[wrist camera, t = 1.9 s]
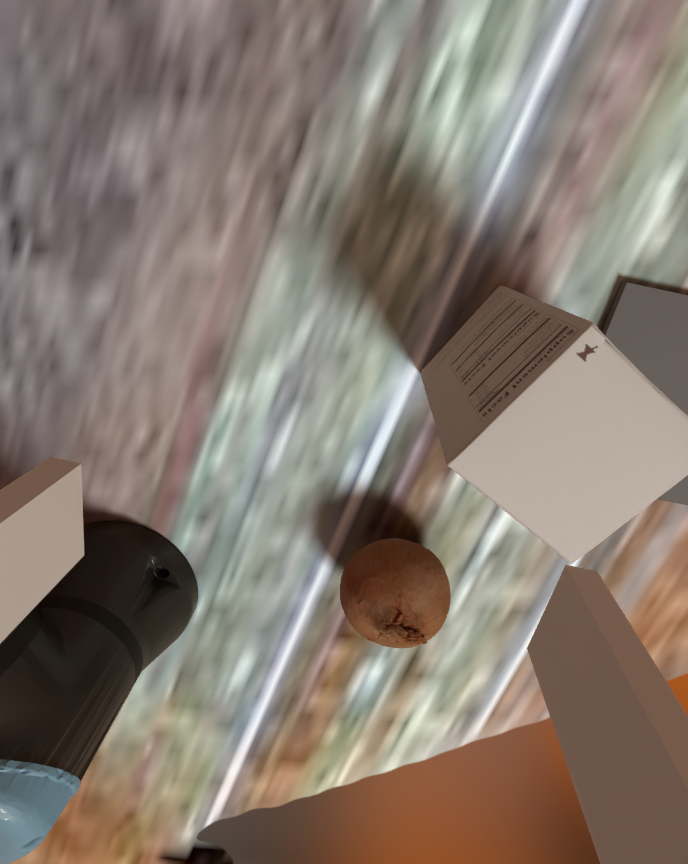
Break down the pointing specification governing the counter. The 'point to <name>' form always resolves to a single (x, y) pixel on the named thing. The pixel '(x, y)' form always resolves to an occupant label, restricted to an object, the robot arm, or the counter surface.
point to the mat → (654, 346)
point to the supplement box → (553, 421)
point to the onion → (395, 593)
